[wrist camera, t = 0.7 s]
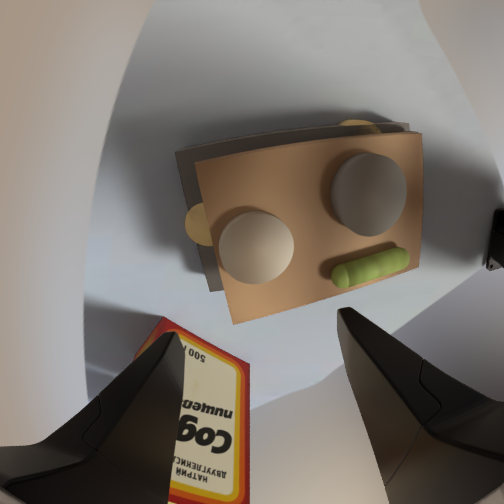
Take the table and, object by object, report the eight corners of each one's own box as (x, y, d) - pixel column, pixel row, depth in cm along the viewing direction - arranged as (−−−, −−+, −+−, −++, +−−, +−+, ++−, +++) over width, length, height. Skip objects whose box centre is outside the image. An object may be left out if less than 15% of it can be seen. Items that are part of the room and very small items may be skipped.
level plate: (409, 130, 16) (444, 135, 13) (409, 254, 20) (437, 273, 17) (193, 161, 14) (195, 169, 12) (228, 307, 18) (237, 340, 15)
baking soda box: (135, 354, 27) (87, 495, 13) (163, 316, 25) (109, 486, 11) (213, 394, 30) (200, 530, 15) (249, 364, 28) (249, 523, 13)
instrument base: (394, 117, 18) (408, 118, 16) (397, 250, 22) (408, 263, 20) (174, 145, 19) (166, 149, 17) (208, 280, 23) (204, 296, 21)
